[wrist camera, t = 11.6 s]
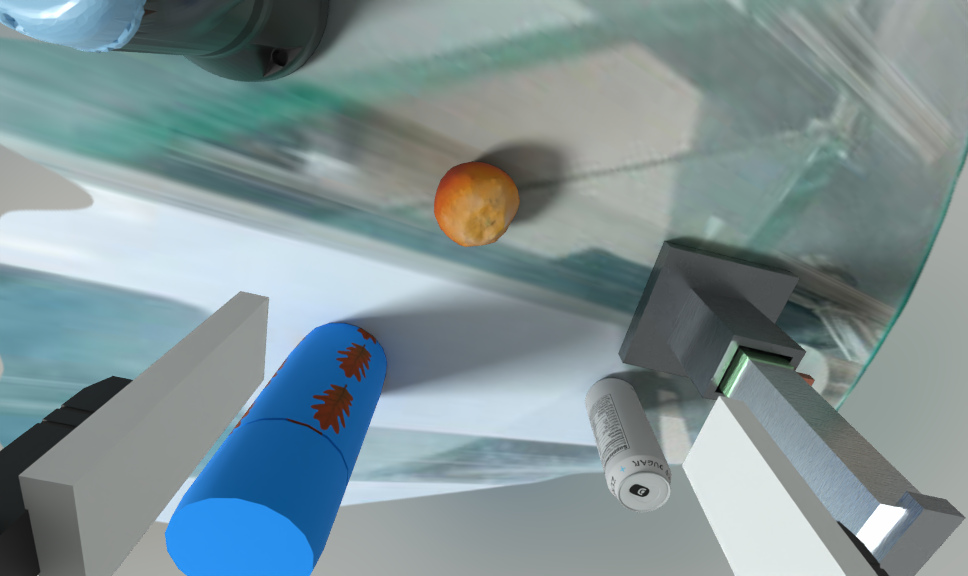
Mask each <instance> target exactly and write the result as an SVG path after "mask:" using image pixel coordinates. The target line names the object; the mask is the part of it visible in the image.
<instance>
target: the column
mask: <svg viewBox="0 0 968 576" xmlns="http://www.w3.org/2000/svg"><path fill="white" fill-rule="evenodd" d="M719 385H720V389H721V390H722V392H723V393H724V395H725V396H726V397H728V398H732V399H736V400H741V401H744V402H745V404H746V405H747V406H748V407H749V409H750V410H751V411H752V413H753V414H754V415H755V417H756V418H757V419H758V420H759V422H760V423H761V424H762V426H763V427H764V428H765V430H766V431H767V432H768V433H769V435H770V436H771V437H772V439H773V440H774V441H775V443H776V444H777V445H778V446H779V448H780V449H781V450H782V452H783V453H784V454H785V456H786V457H787V458H788V459H789V461H790V462H791V463H792V465H793V466H794V467H795V469H796V470H797V471H798V472H799V474H800V475H801V476H802V478H803V479H804V480H805V482H806V483H807V484H808V485H809V487H810V488H811V489H812V491H813V492H814V493H815V495H816V496H817V497H818V498H819V500H820V501H821V502H822V504H823V505H824V506H825V507H826V509H827V510H828V511H829V513H830V514H831V515H832V517H833V518H834V519H835V520H836V521H840V522H841V523H842V524H843V525H844V526H845V527H846V528H847V529H849V530H850V531H851V532H852V533H853V534H854V535H855V536H856V537H858V538H859V539H860V540H861V541H862V542H863V543H864V544H865V546H866V547H867V548H868V549H869V551H870V552H871V553H872V555H873V556H874V557H875V558H876V560H877V561H878V562H879V563H880V568H882V569H884V570H885V571H886V572H887V573H888V575H889V576H914V575H915V574H916V573H917V572H918V571H919V570H920V569H921V567H922V566H923V565H924V564H925V563H926V562H927V561H928V560H929V558H930V557H931V556H932V555H933V554H934V553H935V552H936V551H937V549H938V548H939V547H940V546H941V545H942V544H943V543H944V542H945V541H946V539H947V538H948V537H949V536H950V535H951V534H952V532H954V530H955V529H956V528H957V527H958V526H959V525H960V524H961V523H962V521H963V520H964V519H965V517H964V516H963V515H962V514H961V513H960V512H959V511H958V510H957V509H956V508H955V507H954V506H952V505H951V504H950V503H949V502H948V501H947V500H946V499H942V498H937V497H932V496H927V495H923V494H921V493H920V492H919V491H918V490H917V489H916V488H915V487H914V486H913V485H912V484H911V483H910V482H909V481H908V480H907V479H906V478H905V477H904V476H903V475H902V474H901V473H900V472H899V471H897V470H896V468H894V467H893V466H892V465H891V464H890V463H889V462H888V461H887V460H886V459H885V458H884V457H883V456H882V455H881V454H880V453H879V452H878V451H877V450H876V449H875V448H874V447H873V446H872V445H871V444H870V443H869V442H868V441H867V440H866V439H865V438H864V437H863V436H862V435H861V434H860V433H858V431H856V430H855V429H854V428H853V427H852V426H851V425H850V424H849V423H848V422H847V421H846V420H845V419H844V418H843V417H842V416H841V415H840V414H839V413H838V412H837V411H836V410H835V409H834V408H833V407H832V406H831V405H830V404H829V403H828V402H827V401H826V400H825V399H824V398H823V397H822V396H821V395H820V394H818V393H817V392H816V391H815V390H814V389H813V388H812V387H811V386H810V385H809V384H808V383H807V382H806V381H805V380H804V379H803V378H802V377H801V376H800V375H799V374H798V373H797V372H796V371H795V370H794V367H793V366H792V365H791V364H790V363H789V362H788V361H787V360H786V359H784V358H782V357H780V356H779V355H778V354H776V353H772V352H767V351H763V350H759V349H754V348H750V347H745V346H741V345H739V346H738V348H737V350H736V352H735V354H734V356H733V358H732V360H731V362H730V364H729V365H728V367H727V369H726V371H725V373H724V375H723V377H722V379H721V381H720V383H719Z"/></svg>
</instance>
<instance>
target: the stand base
mask: <svg viewBox="0 0 968 576" xmlns="http://www.w3.org/2000/svg"><path fill="white" fill-rule="evenodd" d="M799 279H800V278H799V277H797V276H795V275H794V274H792V273H791V272H789V271H786V270H782V269H778V268H774V267H770V266H765V265H761V264H757V263H753V262H749V261H745V260H741V259H736V258H732V257H728V256H724V255H720V254H716V253H712V252H707V251H703V250H699V249H695V248H691V247H687V246H683V245H678V244H674V243H670V242H666V241H664V243H663V246H662V248H661V250H660V253H659V255H658V258H657V260H656V263H655V265H654V268H653V270H652V273H651V275H650V277H649V280H648V282H647V285H646V287H645V290H644V292H643V295H642V297H641V300H640V302H639V304H638V307H637V309H636V312H635V314H634V317H633V319H632V322H631V324H630V327H629V329H628V331H627V334H626V336H625V339H624V341H623V344H622V346H621V349H620V351H619V356H620V358H621V360H622V362H623V363H626V364H630V365H635V366H639V367H644V368H648V369H653V370H657V371H662V372H666V373H671V374H675V375H680V376H685V377H689V378H690V379H691V380H692V382H693V383H694V385H695V386H696V388H697V390H698V391H699V393H700V394H701V396H702V397H703V398H708V399H712V400H717V399H718V397H719V396H723V397H726V396H725V395H724V393H723V392H722V390H721V389H720V385H719V383H720V381H721V379H722V377H723V375H724V373H725V371H726V369H727V367H728V365H729V364H730V362H731V360H732V358H733V356H734V354H735V352H736V350H737V348H738V346H739V345H741V346H745V347H750V348H754V349H759V350H763V351H767V352H772V353H776V354H778V355H779V356H780V357H782V358H784V359H786V360H787V361H788V362H789V363H790V364H791V365H792V366H793V367H794V370H796V368H797V366H798V365H799V363H800V361H801V360H802V358H803V356H804V355H805V353H806V351H805V350H804V349H803V348H802V347H801V346H799V345H798V344H797V343H796V342H795V341H794V340H793V339H791V338H790V337H789V336H788V335H787V334H786V333H785V332H783V331H782V330H781V329H780V328H779V327H778V326H777V325H775V323H776V321H777V319H778V317H779V315H780V314H781V312H782V310H783V308H784V306H785V304H786V303H787V301H788V299H789V297H790V295H791V293H792V292H793V290H794V288H795V286H796V284H797V282H798V281H799ZM797 373H798V372H797ZM798 374H799V375H800V376H801V377H802V378H803V379H804V380H805V381H806V382H807V383H808V384H809V385H810V386H812V384H813V382H814V381H815V380H814V379H813V378H812V377H811V376H810V375H807V374H803V373H798ZM727 398H728V397H727Z"/></svg>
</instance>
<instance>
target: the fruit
mask: <svg viewBox="0 0 968 576" xmlns="http://www.w3.org/2000/svg"><path fill="white" fill-rule="evenodd" d="M519 203H520V198H519V195H518V189H517V187H516V185H515V183H514V182H513V180H512V179H511V178H510V177H509V175H508V174H506V173H505V172H504V171H503V170H501V169H499V168H497V167H495V166H493V165H490V164H487V163H482V162H473V161H472V162H468V163H463V164H459V165H457V166H455V167H453V168H451V169H450V170H449V171H448V172H447V173H446V174H445V176H444V177H443V178H442V179H441V181H440V183H439V186H438V189H437V192H436V196H435V202H434V213H435V217H436V219H437V221H438V223H439V226H440V228H441V230H443V231H444V233H445V234H446V235H447V236H448V237H449V238H450V239H452V240H453V241H454V242H456V243H458V244H459V245H462V246H465V247H467V246H468V247H469V246H479V245H486V244H490V243H494V242H496V241H497V240H498V239H499V238H500V237H501V236H502V235H503V234H504V233H505V232H506V230H507V228H508V226H509V225H510V223H511V221H512V220H513V218H514V216H515V215H516V213H517V210H518V207H519Z"/></svg>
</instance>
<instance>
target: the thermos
mask: <svg viewBox="0 0 968 576" xmlns="http://www.w3.org/2000/svg"><path fill="white" fill-rule="evenodd" d="M386 367H387V360H386V357H385V354H384V351H383V348H382V347H381V346H380V344H379V343H378V342H377V340H376V339H375V338H374V337H373V336H372V335H370V334H369V333H367V332H366V331H364V330H363V329H361V328H359V327H356V326H353V325H350V324H346V323H329V324H326V325H323V326H320V327H317V328H315V329H314V330H313V331H311V332H310V333H309V334H308V335H307V336H306V337H305V338H304V339H303V340H302V341H301V342H300V343H299V344H298V345H297V347H296V348H295V349H294V350H293V351H292V352H291V353H290V355H289V356H288V357H287V359H286V360H285V361H284V363H283V364H282V365H281V367H280V368H279V369H278V371H277V372H276V373H275V375H274V376H273V377H272V379H271V380H270V381H269V383H268V384H267V385H266V387H265V388H264V389H263V391H262V392H261V393H260V395H259V396H258V397H257V399H256V400H255V401H254V403H253V404H252V405H251V407H250V408H249V409H248V411H247V412H246V413H245V415H244V416H243V417H242V419H241V420H240V421H239V423H238V424H237V425H236V427H235V428H234V429H233V431H232V432H231V433H230V435H229V436H228V438H227V439H226V440H225V441H224V443H223V444H222V445H221V447H220V448H219V449H218V451H217V452H216V453H215V455H214V456H213V457H212V459H211V460H210V461H209V463H208V464H207V465H206V467H205V468H204V469H203V471H202V472H201V473H200V475H199V476H198V477H197V479H196V480H195V481H194V483H193V484H192V485H191V487H190V488H189V489H188V491H187V492H186V493H185V495H184V496H183V498H182V500H181V501H180V503H179V505H178V507H177V509H176V510H175V512H174V514H173V516H172V518H171V520H170V522H169V525H168V527H167V530H166V532H165V537H166V544H167V551H168V553H169V555H170V556H171V558H172V559H173V561H174V562H175V564H176V566H177V567H178V569H179V570H181V571H182V572H183V573H184V574H186V575H187V576H310V574H311V572H312V571H313V569H314V567H315V565H316V563H317V561H318V559H319V557H320V555H321V553H322V551H323V550H324V547H325V545H326V542H327V539H328V536H329V534H330V531H331V528H332V525H333V523H334V520H335V517H336V514H337V512H338V509H339V506H340V504H341V501H342V498H343V495H344V493H345V490H346V486H347V484H348V482H349V479H350V476H351V474H352V471H353V468H354V465H355V463H356V460H357V457H358V454H359V452H360V449H361V446H362V443H363V441H364V438H365V435H366V433H367V430H368V427H369V424H370V422H371V419H372V416H373V413H374V411H375V408H376V405H377V402H378V400H379V397H380V394H381V391H382V387H383V383H384V379H385V376H386Z"/></svg>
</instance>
